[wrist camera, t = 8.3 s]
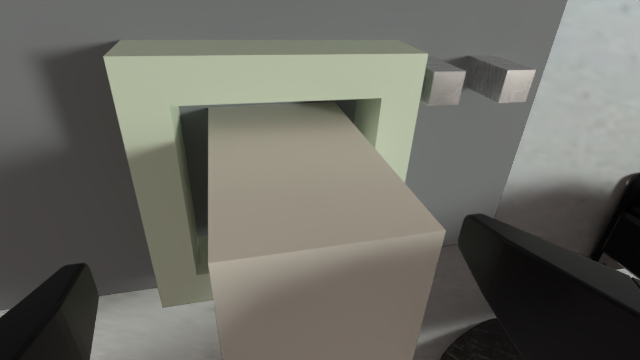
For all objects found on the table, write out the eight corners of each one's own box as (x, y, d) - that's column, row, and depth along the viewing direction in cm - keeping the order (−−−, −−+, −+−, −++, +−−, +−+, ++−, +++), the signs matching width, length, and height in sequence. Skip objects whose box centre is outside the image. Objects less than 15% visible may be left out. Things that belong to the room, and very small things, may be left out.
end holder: (397, 39, 12) (428, 53, 10) (369, 239, 16) (388, 272, 14) (120, 39, 10) (102, 56, 8) (167, 266, 14) (162, 307, 12)
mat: (630, -280, 10) (668, -301, 9) (474, 227, 19) (486, 240, 18) (-658, -610, 5) (-833, -724, 4) (-64, 299, 13) (-82, 322, 13)
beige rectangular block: (334, 101, 12) (446, 230, 7) (328, 203, 14) (409, 370, 9) (208, 107, 12) (208, 263, 6) (220, 214, 14) (229, 412, 8)
